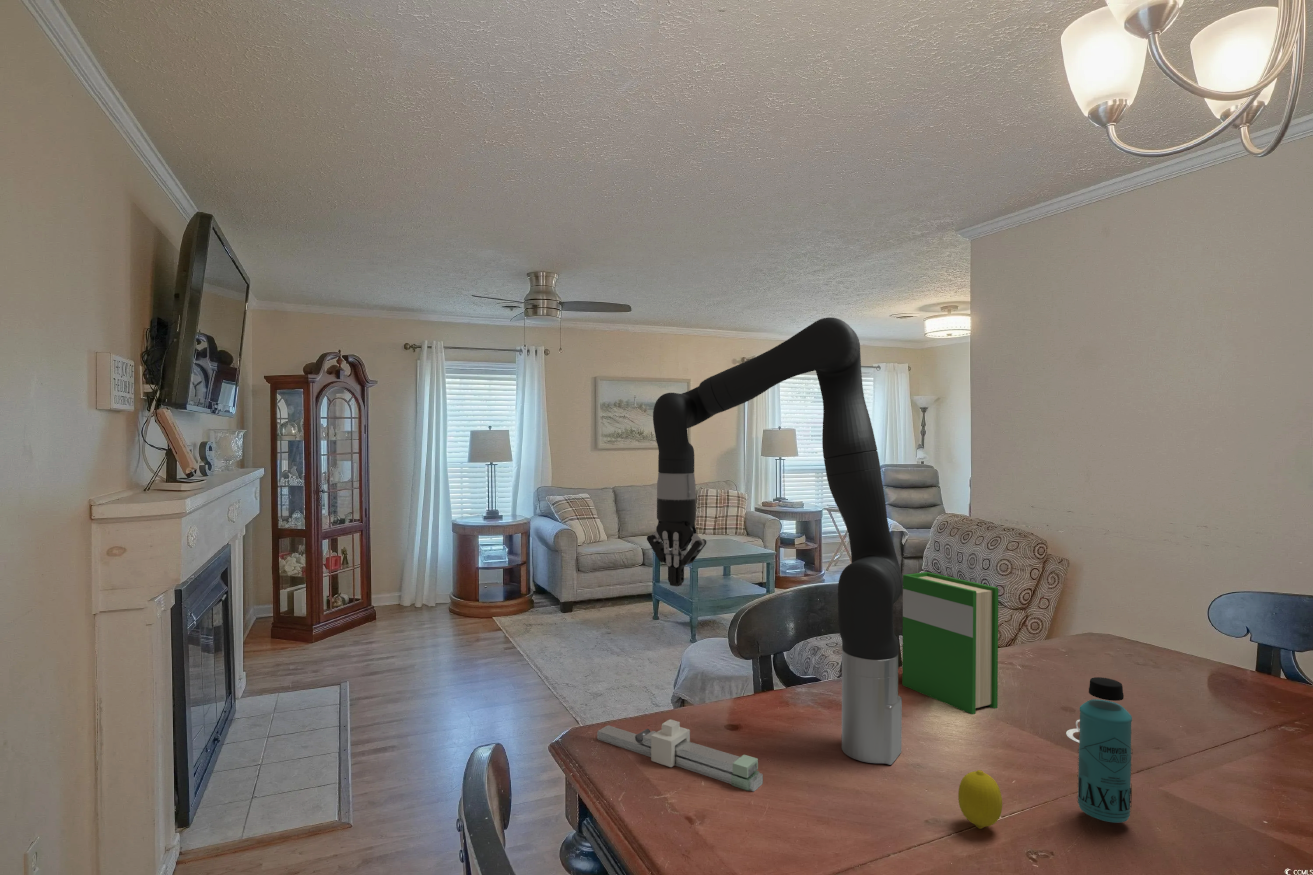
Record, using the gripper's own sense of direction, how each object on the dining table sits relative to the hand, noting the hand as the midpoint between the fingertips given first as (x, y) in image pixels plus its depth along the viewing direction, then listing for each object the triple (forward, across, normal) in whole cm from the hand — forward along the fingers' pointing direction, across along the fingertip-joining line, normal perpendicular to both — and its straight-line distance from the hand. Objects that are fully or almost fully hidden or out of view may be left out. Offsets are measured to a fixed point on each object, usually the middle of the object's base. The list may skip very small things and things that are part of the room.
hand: (675, 585), depth 135 cm
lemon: (+25, -56, +8) cm, 62 cm away
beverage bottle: (+25, -70, -4) cm, 75 cm away
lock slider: (+25, -10, +16) cm, 31 cm away
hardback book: (+25, -41, -41) cm, 63 cm away
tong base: (+25, -10, +16) cm, 31 cm away
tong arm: (+23, -15, +16) cm, 32 cm away
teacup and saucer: (+26, -70, -34) cm, 81 cm away
